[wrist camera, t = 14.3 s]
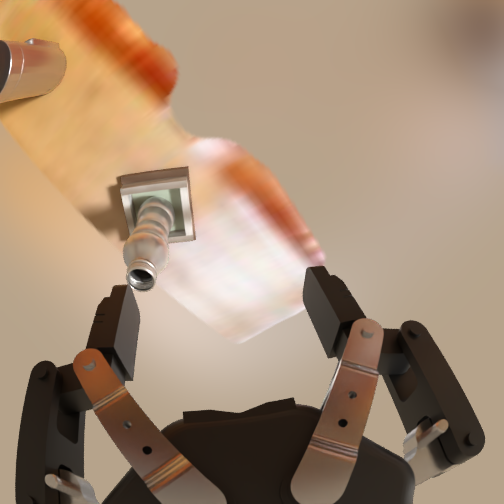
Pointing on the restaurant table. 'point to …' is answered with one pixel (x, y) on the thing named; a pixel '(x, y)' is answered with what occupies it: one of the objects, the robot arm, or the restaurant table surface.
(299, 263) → the restaurant table surface
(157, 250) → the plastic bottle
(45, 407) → the robot arm
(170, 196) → the socket board
